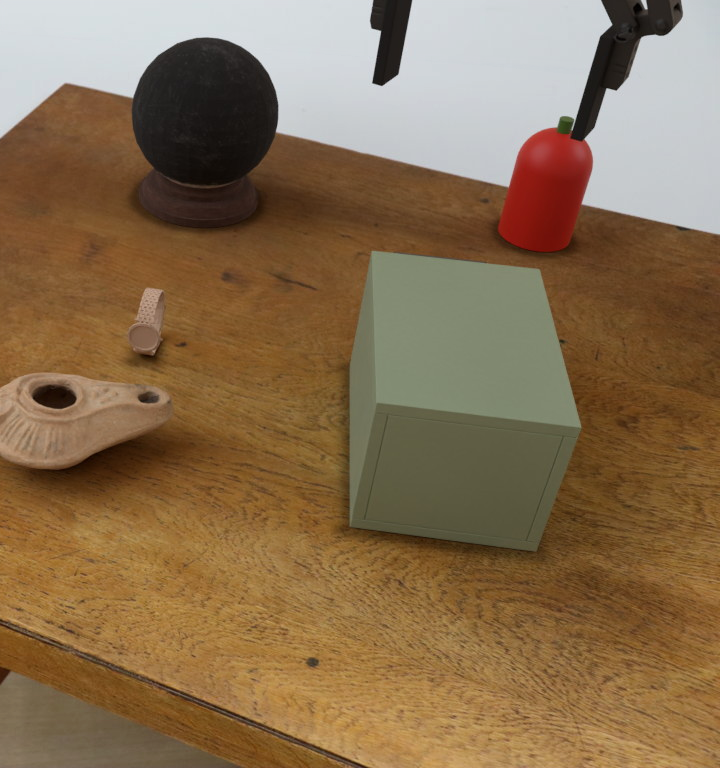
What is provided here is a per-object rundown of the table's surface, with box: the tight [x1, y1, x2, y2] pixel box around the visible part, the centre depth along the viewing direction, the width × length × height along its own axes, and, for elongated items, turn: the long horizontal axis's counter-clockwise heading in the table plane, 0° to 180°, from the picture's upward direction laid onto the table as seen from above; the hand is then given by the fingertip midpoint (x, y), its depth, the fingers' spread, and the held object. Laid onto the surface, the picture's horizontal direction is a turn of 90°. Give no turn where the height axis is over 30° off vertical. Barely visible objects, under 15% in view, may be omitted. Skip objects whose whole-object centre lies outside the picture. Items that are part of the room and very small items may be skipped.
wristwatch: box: [126, 287, 167, 356], centre depth 83 cm, size 3×5×5 cm, turn 167°
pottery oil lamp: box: [0, 372, 175, 471], centre depth 73 cm, size 9×12×7 cm
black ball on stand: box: [131, 36, 280, 229], centre depth 100 cm, size 13×13×15 cm
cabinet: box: [349, 250, 582, 553], centre depth 74 cm, size 18×12×10 cm, turn 172°
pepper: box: [497, 115, 594, 253], centre depth 98 cm, size 6×6×11 cm
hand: (479, 105), depth 73 cm, fingers open, 13 cm apart
